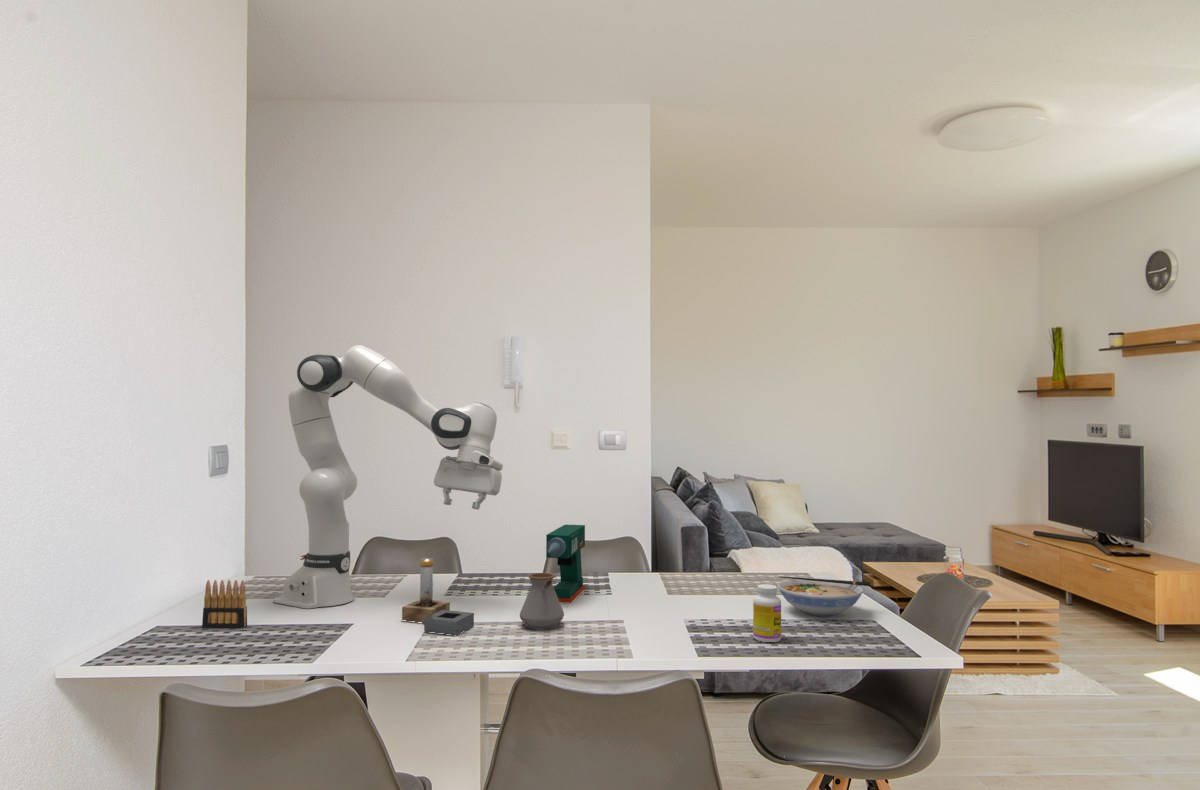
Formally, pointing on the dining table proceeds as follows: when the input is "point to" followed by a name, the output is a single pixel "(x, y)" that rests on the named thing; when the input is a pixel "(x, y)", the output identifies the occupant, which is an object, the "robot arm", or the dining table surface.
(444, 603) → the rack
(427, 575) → the grey capped tube
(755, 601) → the supplement bottle
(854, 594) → the ramen bowl
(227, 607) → the ammunition clip
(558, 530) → the power tool
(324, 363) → the robot arm
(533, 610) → the coffee pot
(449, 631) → the socket block
